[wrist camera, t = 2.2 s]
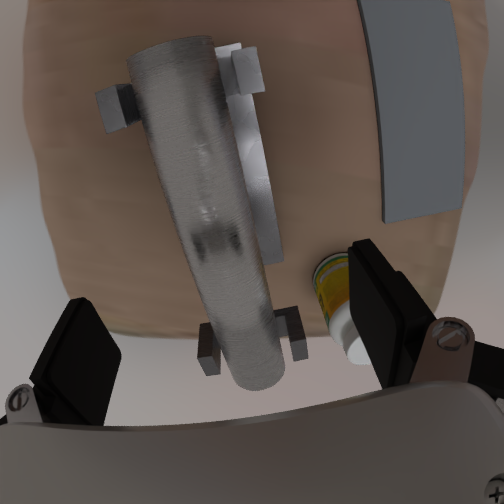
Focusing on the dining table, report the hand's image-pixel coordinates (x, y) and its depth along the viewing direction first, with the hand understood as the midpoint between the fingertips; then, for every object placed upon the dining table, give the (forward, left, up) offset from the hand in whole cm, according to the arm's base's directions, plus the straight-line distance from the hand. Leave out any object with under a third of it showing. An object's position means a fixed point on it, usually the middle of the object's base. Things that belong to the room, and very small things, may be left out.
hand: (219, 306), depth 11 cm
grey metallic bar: (-1, 0, -3) cm, 3 cm away
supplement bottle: (+12, +8, -16) cm, 21 cm away
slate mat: (-3, +17, -16) cm, 23 cm away
